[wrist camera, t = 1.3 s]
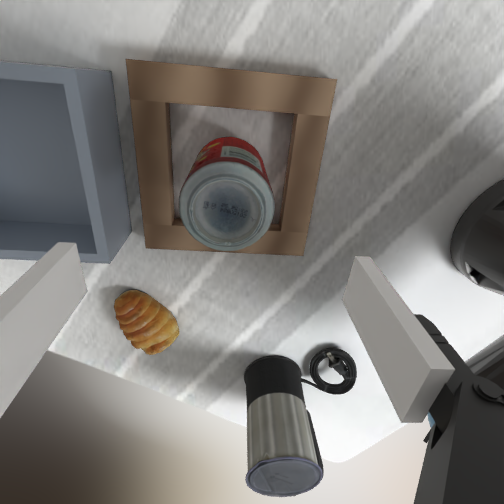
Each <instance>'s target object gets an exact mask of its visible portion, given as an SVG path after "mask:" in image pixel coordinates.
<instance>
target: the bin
mask: <svg viewBox="0 0 504 504" xmlns="http://www.w3.org/2000/svg"><path fill="white" fill-rule="evenodd" d="M131 232H132V229H131V221H130V213H129V206H128V198H127V190H126V182H125V174H124V167H123V159H122V151H121V143H120V135H119V127H118V120H117V112H116V104H115V96H114V88H113V81H112V73H111V71H105V70H94V69H83V68H72V67H62V66H51V65H40V64H30V63H19V62H8V61H0V259H17V260H40V259H41V258H42V257H43V256H44V255H45V254H46V253H47V252H48V251H49V250H50V249H51V248H53V247H54V246H55V245H56V244H57V243H58V242H66V243H76V245H77V249H78V254H79V258H80V262H85V263H108V264H110V263H111V261H112V260H113V258H114V257H115V255H116V254H117V252H118V251H119V249H120V248H121V247H122V245H123V244H124V242H125V241H126V239H127V238H128V236H129V235H130V233H131Z"/></svg>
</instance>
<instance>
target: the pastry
mask: <svg viewBox="0 0 504 504" xmlns="http://www.w3.org/2000/svg"><path fill="white" fill-rule="evenodd" d="M114 309H115V312H116V319H117V320H118V321H119V325H120V329H122V330H123V333H124V335H125V336H126V338H127V340H131V344H132V345H133V346H134V347H135V348H136V349H139V348H141V349H142V350H143V351H145V353H146V354H149V355H153V354H157V353H160V352H162V351H163V350H164V349H166V348H167V347H169V346H170V345H171V344H172V343H173V342H174V341H175V339H176V338H177V337H178V335H179V328H178V325H177V321H176V319H175V317H174V316H173V315H172V313H171V312H170V311H169V310H168V309H167V308H166V307H164V306H163V305H162V304H161V303H159V302H158V301H156V300H155V299H154V298H152V297H151V296H149V295H148V294H146V293H143V292H141V291H138V290H129V291H126V292H124V293H122V294H121V295H120V296H119V297H118V298H117V299H116V300H115V304H114Z"/></svg>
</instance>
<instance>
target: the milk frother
mask: <svg viewBox="0 0 504 504" xmlns="http://www.w3.org/2000/svg"><path fill="white" fill-rule="evenodd" d="M327 357H328V358H329V367H330V368H332V367H333V368H334V369H335V370H336V371H337V372H338V373H339V374H340V375H342V376H343V378H344V381H343V382H342V383H340V384H329V383H327V382H325V381H323V380H322V379H321V378H320V376H319V374H318V365H319V363H320V362H321V361H322V360H323V359H325V358H327ZM342 360H343V361H344V362H345V364H346V365H347V366H346V365H345V364H344V363H343V361H342ZM347 370H348V371H347ZM310 375H311V377H312V379H313V381H314V382H315V383H316V384H317V385H316V384H314V383H311V382H310V381H307V380H305V379H302V378H301V370H300V368H299V366H298V365H297V364H296V363H295V362H294V361H292V360H290V359H288V358H285V357H280V356H269V357H265V358H261V359H259V360H256V361H254V362H253V363H252V364H250V365H249V366H248V368H247V369H246V371H245V374H244V381H245V384H246V396H247V451H248V452H247V453H248V454H247V457H248V473H247V475H246V483H247V486H249V488H251V489H252V490H253V491H255V492H257V493H260V494H262V495H267V496H275V497H287V496H296V495H298V494H301V493H304V492H307V491H309V490H311V489H313V488H314V487H315V486H317V485H318V484H319V483H320V481H321V480H322V478H323V464H322V459H321V456H320V451H319V448H318V444H317V440H316V436H315V432H314V428H313V424H312V420H311V416H310V413H309V412H308V410H306V406H305V401H304V396H303V390H302V384H301V382H304V383H308V384H310V385H312V386H314V387H316V388H318V389H319V390H322V391H324V392H327V393H330V394H344V393H346V392H348V391H349V390H350V389H352V387H353V385H354V383H355V381H356V378H357V371H356V365H355V362H354V360H353V358H352V357H351V356H350V355H349V354H348V353H347V352H345V351H343V350H341V349H337V348H330V349H325V350H323V351H321V352H319V353H317V354H316V355H315V356H314V357H313V358H312V360H311V363H310Z"/></svg>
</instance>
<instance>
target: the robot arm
mask: <svg viewBox="0 0 504 504" xmlns="http://www.w3.org/2000/svg"><path fill="white" fill-rule="evenodd" d="M451 256H452V260H453V262H454V264H455V266H456V268H457V269H458V270H459V271H460V272H461V273H462V274H463V275H465V276H466V277H467V278H468V279H469V280H470V281H472V282H473V283H475V284H477V285H478V286H480V287H483V288H485V289H488V290H490V291H493V292H496V293H498V294H501V295H503V296H504V180H502V181H500V182H499V183H497V184H495V185H494V186H492V187H491V188H489V189H488V190H487V191H485V192H484V193H483V194H482V195H481V196H479V197H478V198H477V199H476V200H475V201H474V202H473V203H472V204H471V205H470V207H469V208H468V209H467V210H466V211H465V213H464V214H463V216H462V217H461V219H460V220H459V222H458V224H457V226H456V228H455V231H454V233H453V237H452V241H451ZM86 293H87V288H86V283H85V279H84V275H83V271H82V266H81V262H80V258H79V254H78V249H77V245H76V243H66V242H58V243H57V244H56V245H55V246H54V247H53V248H51V249H50V250H49V251H48V252H47V253H46V254H45V255H44V256H43V257H42V258H41V259H40V260H39V261H38V262H36V263H35V264H34V265H33V266H32V267H31V268H30V269H29V270H28V271H27V272H26V273H25V274H24V275H23V276H21V277H20V278H19V279H18V280H17V281H16V282H15V283H14V284H13V285H12V286H11V287H10V288H9V289H8V290H6V291H5V292H4V293H3V294H2V295H1V296H0V418H1V416H2V415H3V413H4V412H5V410H6V409H7V408H8V406H9V405H10V403H11V402H12V400H13V399H14V397H15V396H16V394H17V393H18V392H19V390H20V389H21V387H22V386H23V384H24V383H25V381H26V380H27V378H28V377H29V376H30V374H31V373H32V371H33V370H34V368H35V367H36V365H37V364H38V362H39V361H40V360H41V358H42V357H43V355H44V354H45V352H46V351H47V349H48V348H49V347H50V345H51V344H52V342H53V341H54V339H55V338H56V336H57V335H58V333H59V332H60V331H61V329H62V328H63V326H64V325H65V323H66V322H67V320H68V319H69V317H70V316H71V315H72V313H73V312H74V310H75V309H76V307H77V306H78V304H79V303H80V301H81V300H82V299H83V297H84V296H85V294H86ZM342 301H343V303H344V305H345V307H346V309H347V311H348V313H349V315H350V317H351V319H352V321H353V324H354V326H355V328H356V330H357V332H358V334H359V336H360V338H361V340H362V342H363V344H364V346H365V348H366V351H367V353H368V355H369V357H370V359H371V361H372V363H373V365H374V367H375V369H376V371H377V373H378V375H379V377H380V380H381V382H382V384H383V386H384V388H385V390H386V392H387V394H388V396H389V398H390V400H391V402H392V404H393V406H394V409H395V411H396V413H397V415H398V417H399V419H400V421H401V423H410V422H412V423H413V422H415V423H419V422H420V423H421V422H423V420H424V419H425V417H426V415H427V414H428V421H429V424H430V427H431V429H430V431H429V433H428V434H427V436H426V437H425V439H424V442H426V443H427V442H428V445H427V449H426V454H425V458H424V462H423V466H422V471H421V475H420V479H419V484H418V488H417V492H416V496H415V500H414V504H504V335H503V336H501V337H500V338H498V339H497V340H495V341H494V342H493V343H491V344H490V345H488V346H487V347H485V348H484V349H483V350H481V351H480V352H478V353H477V354H475V355H474V356H473V357H471V358H470V359H468V360H467V361H465V362H464V361H463V360H462V358H461V357H460V356H459V355H458V353H457V352H456V351H455V350H454V348H453V347H452V346H451V345H450V344H448V341H447V340H446V339H445V337H444V336H442V334H441V332H440V331H439V330H438V329H437V327H436V326H435V325H434V324H433V323H432V322H431V321H429V320H428V319H427V318H425V317H424V316H423V315H414V314H413V313H412V312H411V310H410V309H409V308H408V306H407V305H406V304H405V302H404V301H403V300H402V298H401V297H400V296H399V294H398V293H397V292H396V290H395V289H394V288H393V286H392V285H391V284H390V282H389V281H388V280H387V278H386V277H385V276H384V274H383V273H382V272H381V270H380V269H379V268H378V266H377V265H376V264H375V262H374V261H373V260H372V259H371V257H366V256H355V258H354V261H353V265H352V268H351V272H350V275H349V279H348V282H347V285H346V289H345V292H344V296H343V299H342ZM428 440H429V441H428Z"/></svg>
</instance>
